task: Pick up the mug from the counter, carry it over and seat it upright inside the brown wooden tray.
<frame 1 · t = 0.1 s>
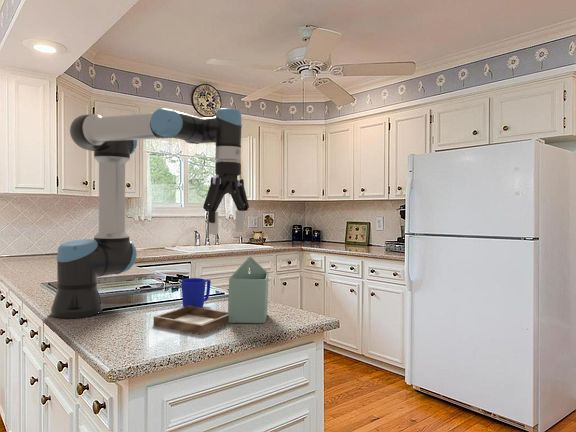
hand: (227, 233, 132), 28 cm above the countertop, fingers open, 13 cm apart
mug: (197, 308, 153), on the countertop
brown wooden tray: (194, 323, 134), on the countertop
planter: (255, 320, 138), on the countertop, touching brown wooden tray
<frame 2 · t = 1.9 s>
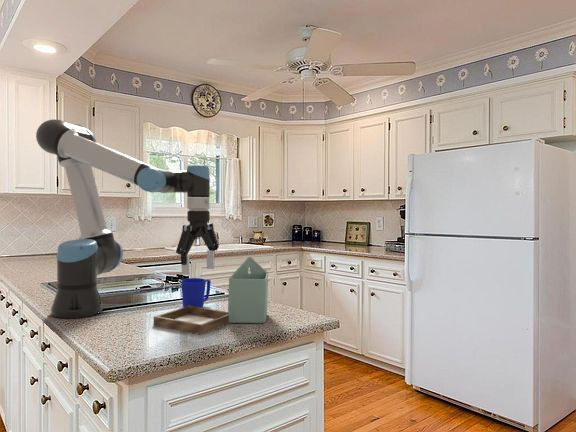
hand: (198, 271, 152), 13 cm above the countertop, fingers open, 13 cm apart
nothing on the countertop moved.
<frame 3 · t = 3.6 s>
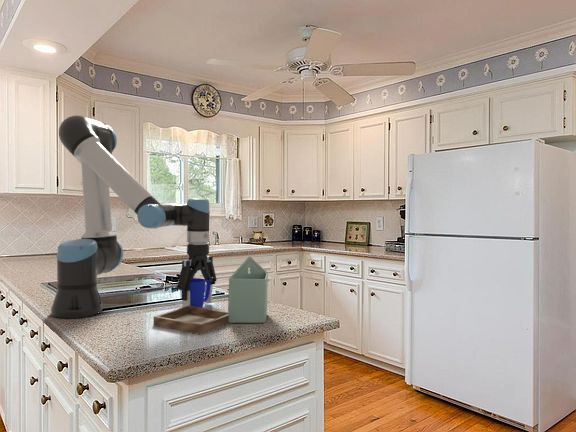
hand: (197, 305, 153), 1 cm above the countertop, fingers closed on mug, 11 cm apart
mug: (196, 308, 152), on the countertop, touching gripper
everything else where it was.
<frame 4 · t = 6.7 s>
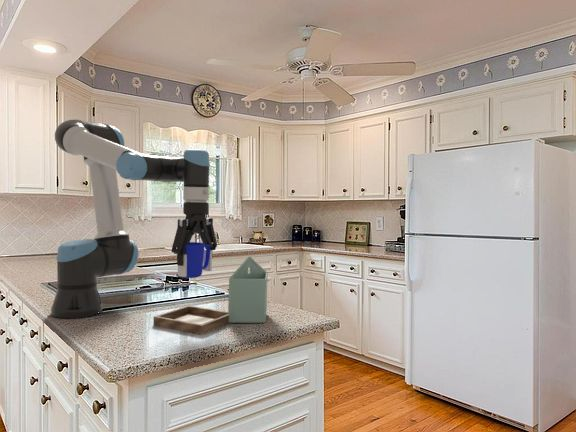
hand: (195, 273, 134), 15 cm above the countertop, fingers closed on mug, 11 cm apart
mug: (194, 276, 133), point 14 cm above the countertop, touching gripper
everything else where it was.
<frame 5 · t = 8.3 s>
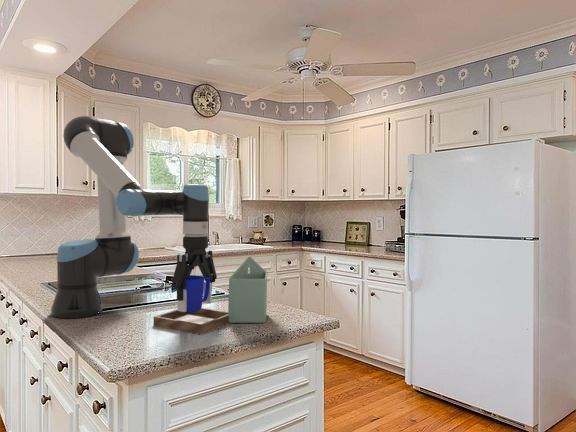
hand: (195, 306, 134), 5 cm above the countertop, fingers closed on mug, 11 cm apart
mug: (194, 309, 134), point 4 cm above the countertop, touching gripper
everything else where it was.
when the fingers open (3 cm above the countertop, at t = 9.8 s): mug drops 2 cm, resting on brown wooden tray.
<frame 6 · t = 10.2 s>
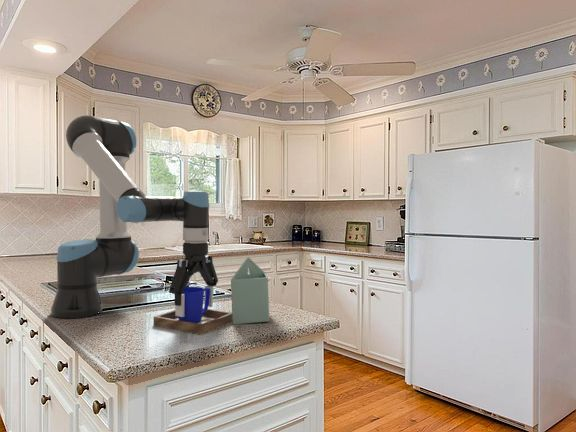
hand: (194, 311, 134), 4 cm above the countertop, fingers open, 13 cm apart
mug: (194, 321, 134), point 1 cm above the countertop, touching brown wooden tray
planter: (259, 320, 138), on the countertop
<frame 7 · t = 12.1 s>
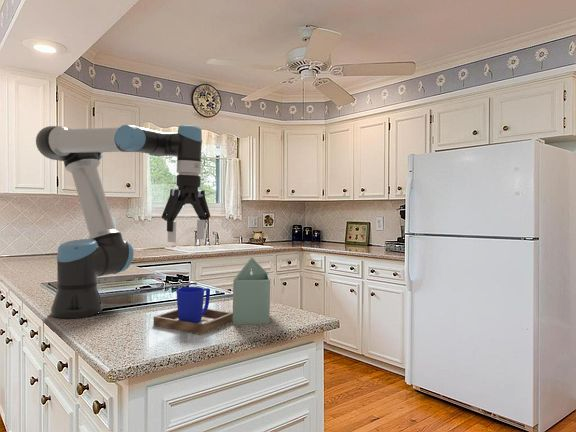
hand: (186, 240, 142), 24 cm above the countertop, fingers open, 13 cm apart
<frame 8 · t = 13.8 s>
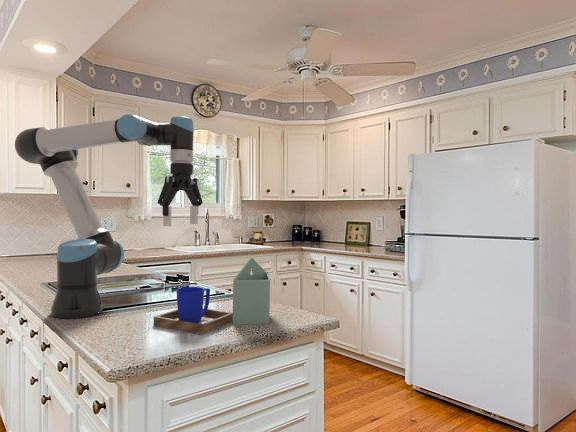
hand: (181, 225, 151), 29 cm above the countertop, fingers open, 13 cm apart
nothing on the countertop moved.
at the end: mug 0.0 cm from the brown wooden tray (horizontally); mug tilted 0°; the gripper is holding nothing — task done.
